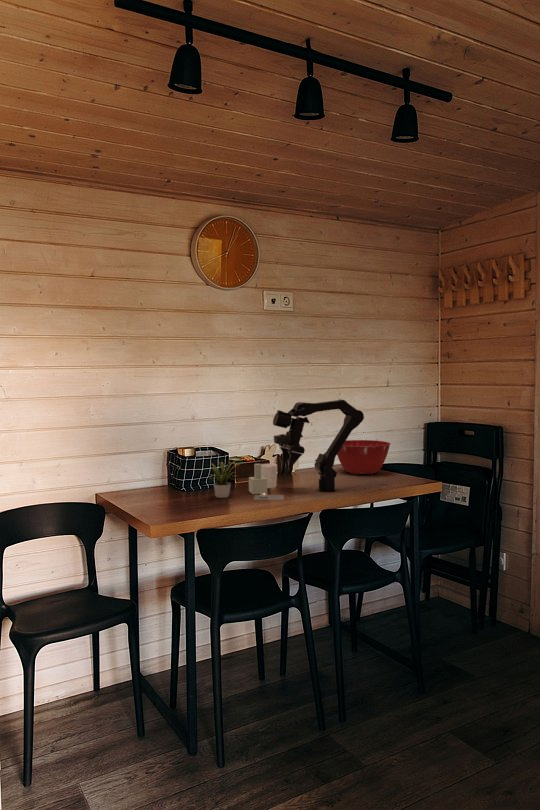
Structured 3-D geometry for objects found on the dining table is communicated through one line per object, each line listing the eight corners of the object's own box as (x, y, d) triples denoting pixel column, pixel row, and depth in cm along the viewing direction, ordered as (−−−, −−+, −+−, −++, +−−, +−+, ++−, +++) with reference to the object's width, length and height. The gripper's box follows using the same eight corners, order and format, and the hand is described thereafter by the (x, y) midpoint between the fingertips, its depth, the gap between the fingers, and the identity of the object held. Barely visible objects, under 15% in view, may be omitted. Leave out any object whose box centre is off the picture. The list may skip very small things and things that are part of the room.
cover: (263, 492, 274) (263, 462, 273) (267, 495, 268) (266, 464, 267) (248, 493, 272) (248, 463, 272) (252, 496, 266) (252, 465, 265)
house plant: (246, 495, 268) (246, 457, 267) (238, 502, 254) (237, 462, 253) (213, 494, 271) (213, 456, 270) (204, 501, 257) (203, 461, 256)
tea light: (267, 496, 261) (267, 492, 260) (267, 498, 258) (267, 494, 257) (260, 496, 261) (260, 492, 261) (260, 498, 258) (260, 494, 258)
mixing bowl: (328, 468, 334) (328, 439, 333) (381, 467, 337) (381, 438, 336) (340, 478, 306) (340, 446, 305) (397, 477, 309) (397, 445, 308)
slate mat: (283, 497, 264) (283, 495, 264) (283, 502, 255) (283, 499, 255) (254, 497, 264) (254, 495, 264) (253, 502, 255) (253, 499, 255)
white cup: (275, 489, 281) (275, 466, 281) (258, 488, 283) (258, 466, 282) (278, 485, 289) (278, 463, 288) (261, 485, 291) (261, 463, 290)
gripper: (272, 424, 279) (263, 459, 279) (284, 428, 261) (274, 465, 261) (295, 430, 282) (286, 464, 282) (309, 434, 264) (299, 471, 264)
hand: (286, 466), depth 272 cm, fingers open, 9 cm apart
